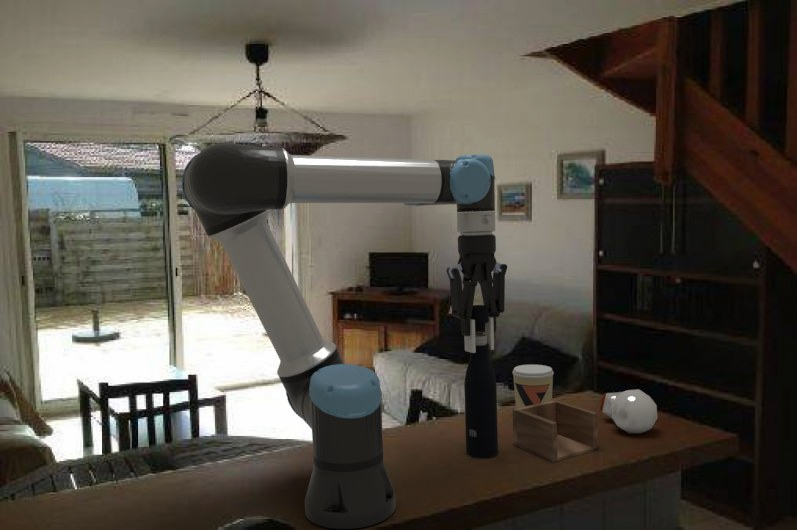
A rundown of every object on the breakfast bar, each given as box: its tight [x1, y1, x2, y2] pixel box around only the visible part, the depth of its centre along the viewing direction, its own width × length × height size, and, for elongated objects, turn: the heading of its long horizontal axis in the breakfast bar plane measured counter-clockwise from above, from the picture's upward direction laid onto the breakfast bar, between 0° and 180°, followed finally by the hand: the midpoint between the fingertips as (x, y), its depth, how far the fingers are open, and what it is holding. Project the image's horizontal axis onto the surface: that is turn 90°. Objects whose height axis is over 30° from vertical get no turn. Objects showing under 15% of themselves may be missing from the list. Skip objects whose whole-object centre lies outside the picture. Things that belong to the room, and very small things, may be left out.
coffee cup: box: [512, 364, 555, 409], centre depth 160 cm, size 9×9×12 cm
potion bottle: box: [599, 389, 658, 434], centre depth 151 cm, size 9×10×15 cm
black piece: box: [463, 304, 499, 459], centre depth 138 cm, size 6×6×30 cm
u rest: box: [512, 399, 599, 463], centre depth 141 cm, size 12×12×8 cm
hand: (479, 349), depth 138 cm, fingers closed on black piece, 4 cm apart
